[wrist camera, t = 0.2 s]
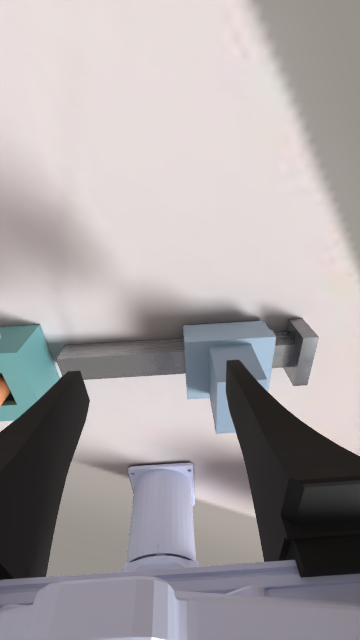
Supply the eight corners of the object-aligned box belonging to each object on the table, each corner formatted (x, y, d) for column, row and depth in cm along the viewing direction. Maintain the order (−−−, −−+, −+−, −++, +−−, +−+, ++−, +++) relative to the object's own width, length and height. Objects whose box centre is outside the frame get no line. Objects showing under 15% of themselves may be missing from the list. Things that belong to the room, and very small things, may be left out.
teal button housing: (62, 385, 26) (45, 418, 23) (-9, 389, 26) (-37, 423, 23) (39, 322, 23) (15, 350, 19) (-43, 327, 23) (-81, 356, 19)
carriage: (257, 371, 26) (284, 433, 20) (185, 375, 26) (190, 439, 20) (264, 317, 23) (298, 371, 17) (182, 322, 23) (187, 378, 17)
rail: (293, 363, 26) (307, 385, 23) (74, 376, 26) (64, 400, 23) (302, 318, 24) (318, 337, 21) (60, 333, 24) (47, 353, 21)
